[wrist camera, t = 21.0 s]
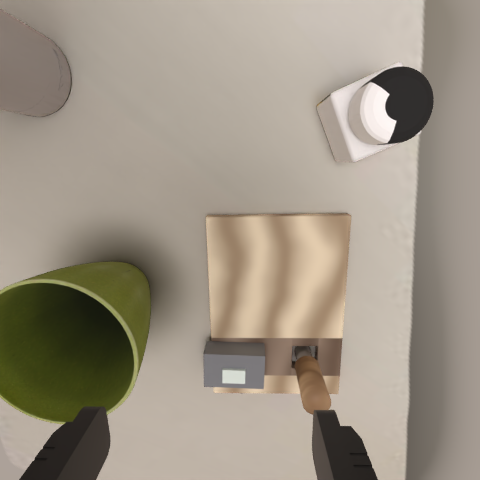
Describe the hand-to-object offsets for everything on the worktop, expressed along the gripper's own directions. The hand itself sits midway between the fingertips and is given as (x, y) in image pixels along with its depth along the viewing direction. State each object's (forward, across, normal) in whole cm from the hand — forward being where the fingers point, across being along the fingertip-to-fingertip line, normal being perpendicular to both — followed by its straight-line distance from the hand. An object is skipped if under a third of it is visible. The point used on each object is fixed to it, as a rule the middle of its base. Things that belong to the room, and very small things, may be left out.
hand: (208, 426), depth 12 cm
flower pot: (+30, +16, +7) cm, 35 cm away
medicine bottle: (+30, -14, -14) cm, 36 cm away
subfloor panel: (+30, -5, +10) cm, 32 cm away
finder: (+29, +1, +17) cm, 33 cm away
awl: (+30, -9, +17) cm, 36 cm away
